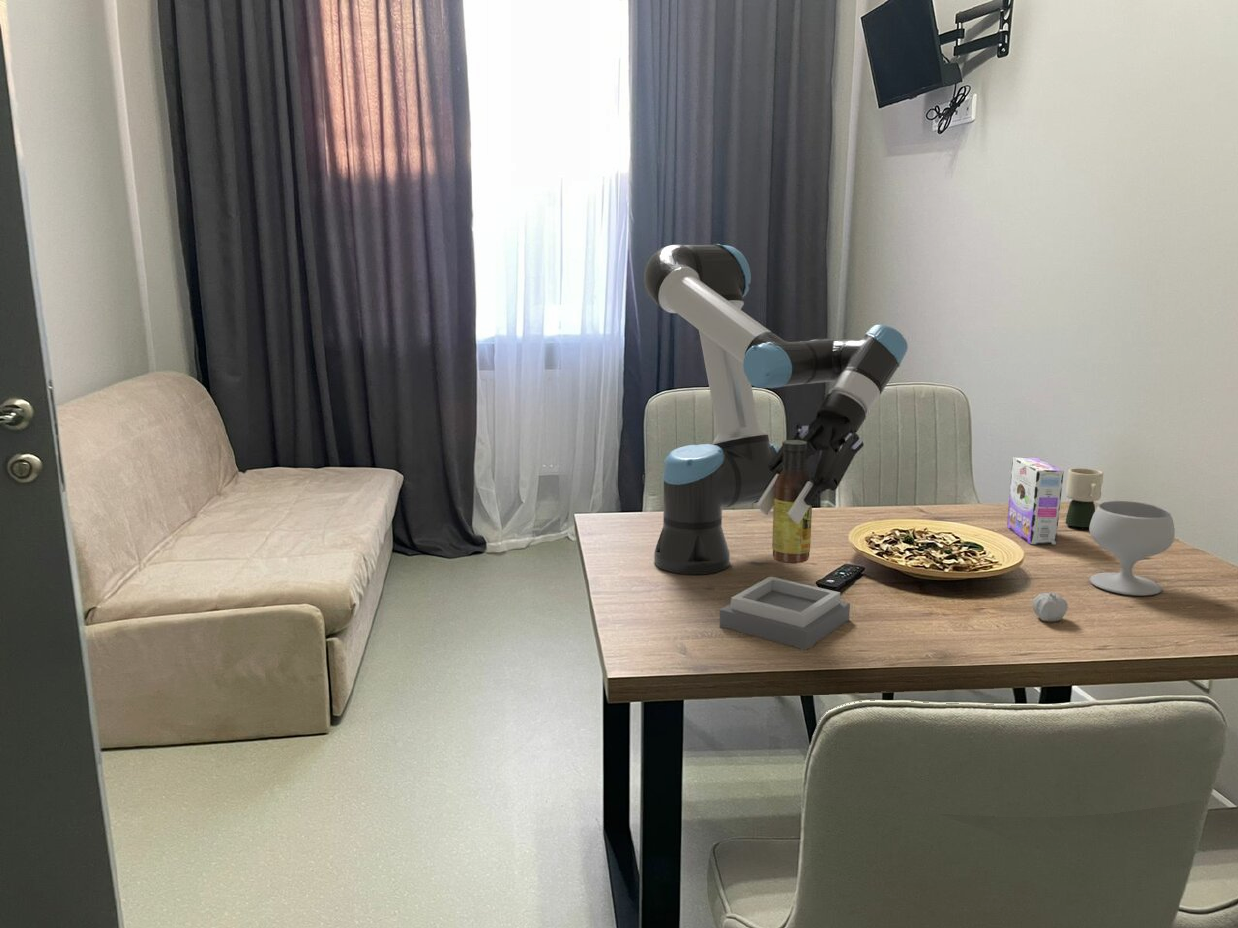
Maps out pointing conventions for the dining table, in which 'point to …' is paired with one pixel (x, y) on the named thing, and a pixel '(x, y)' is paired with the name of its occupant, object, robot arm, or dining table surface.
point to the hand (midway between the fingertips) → (777, 514)
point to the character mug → (1082, 495)
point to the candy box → (1035, 500)
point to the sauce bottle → (788, 535)
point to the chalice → (1130, 542)
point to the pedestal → (786, 612)
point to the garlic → (1049, 606)
